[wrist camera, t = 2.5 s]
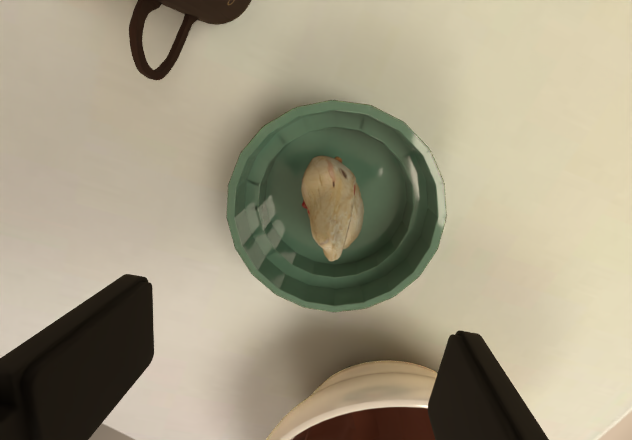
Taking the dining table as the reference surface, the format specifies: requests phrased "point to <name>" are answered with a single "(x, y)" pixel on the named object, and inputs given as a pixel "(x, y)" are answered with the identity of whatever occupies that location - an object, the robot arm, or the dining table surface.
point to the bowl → (376, 192)
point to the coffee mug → (196, 3)
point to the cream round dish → (365, 405)
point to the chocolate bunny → (332, 204)
